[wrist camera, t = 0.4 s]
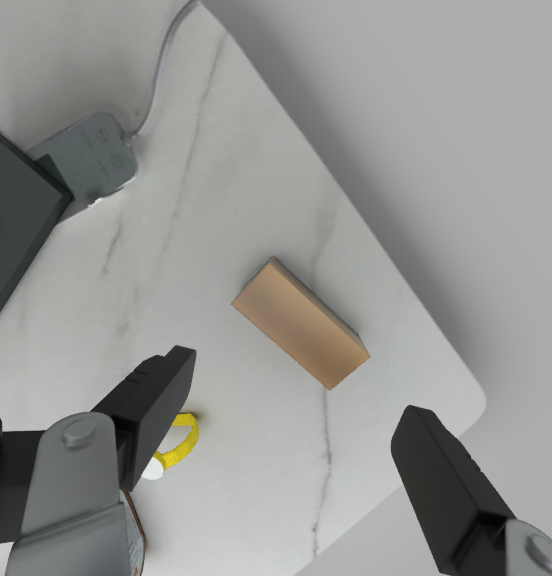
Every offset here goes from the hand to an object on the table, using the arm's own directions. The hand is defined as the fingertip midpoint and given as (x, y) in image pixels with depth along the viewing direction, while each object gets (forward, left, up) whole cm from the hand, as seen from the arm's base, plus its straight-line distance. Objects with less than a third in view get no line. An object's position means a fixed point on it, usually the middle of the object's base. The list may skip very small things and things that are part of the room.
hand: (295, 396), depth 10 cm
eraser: (+1, +2, -15) cm, 15 cm away
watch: (+19, +1, -15) cm, 25 cm away
